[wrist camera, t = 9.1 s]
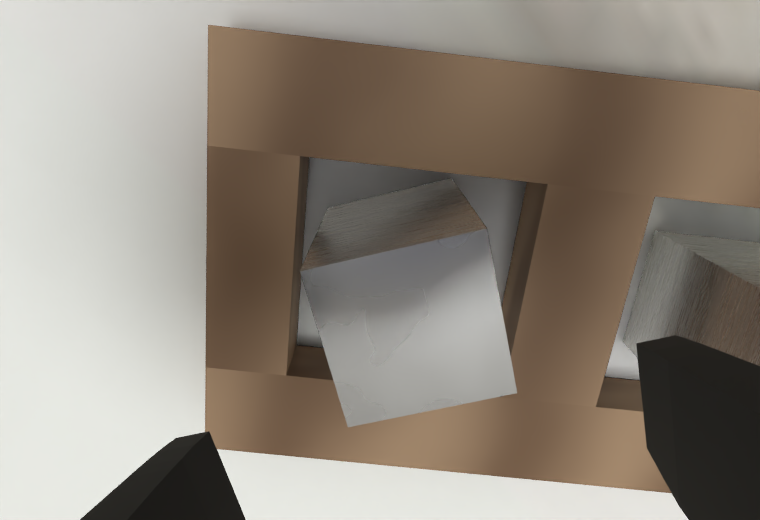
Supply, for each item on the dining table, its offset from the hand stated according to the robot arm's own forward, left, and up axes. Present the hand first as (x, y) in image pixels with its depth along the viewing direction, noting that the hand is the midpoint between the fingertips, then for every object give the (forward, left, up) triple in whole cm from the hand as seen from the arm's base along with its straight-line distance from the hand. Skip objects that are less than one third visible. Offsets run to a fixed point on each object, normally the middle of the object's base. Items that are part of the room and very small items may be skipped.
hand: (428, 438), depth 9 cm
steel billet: (0, 0, -9) cm, 9 cm away
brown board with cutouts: (-5, 0, -9) cm, 10 cm away
